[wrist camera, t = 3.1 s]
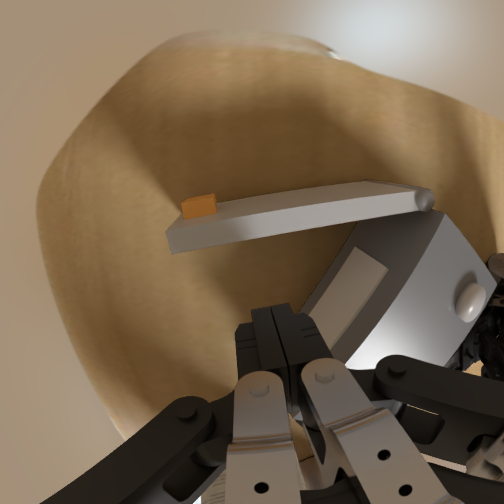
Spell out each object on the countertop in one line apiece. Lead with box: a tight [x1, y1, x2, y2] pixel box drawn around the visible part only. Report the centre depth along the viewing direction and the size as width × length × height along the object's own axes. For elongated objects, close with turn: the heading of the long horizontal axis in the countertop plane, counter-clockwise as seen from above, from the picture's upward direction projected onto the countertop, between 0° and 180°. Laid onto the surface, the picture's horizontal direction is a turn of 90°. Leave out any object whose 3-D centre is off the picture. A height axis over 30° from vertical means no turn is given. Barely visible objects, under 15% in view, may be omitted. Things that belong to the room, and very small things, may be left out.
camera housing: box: [290, 209, 497, 427], centre depth 17 cm, size 16×9×8 cm, turn 149°
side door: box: [166, 179, 434, 254], centre depth 14 cm, size 13×2×6 cm, turn 99°
